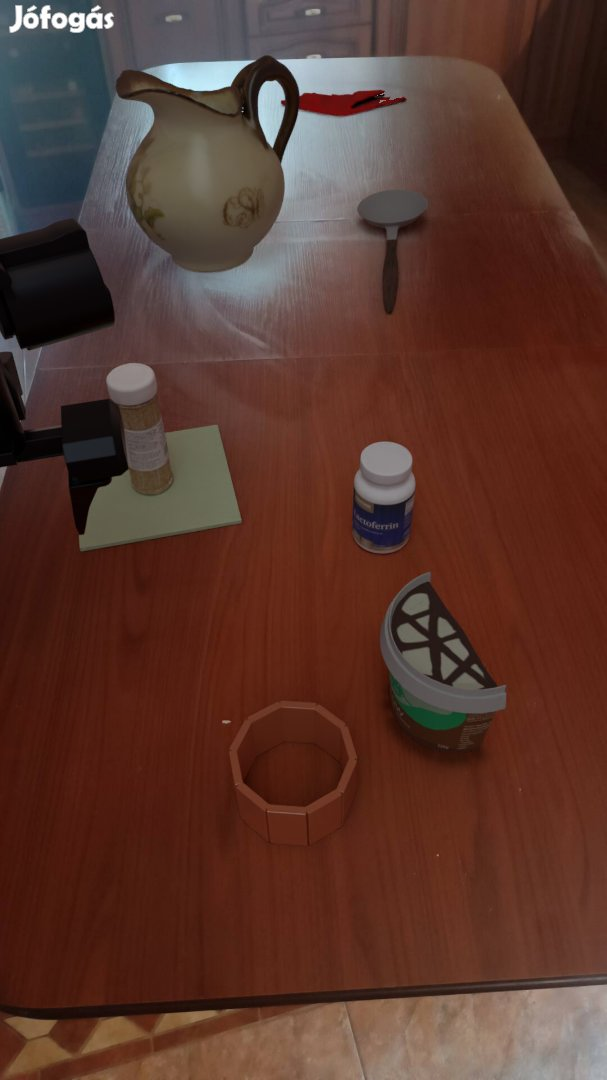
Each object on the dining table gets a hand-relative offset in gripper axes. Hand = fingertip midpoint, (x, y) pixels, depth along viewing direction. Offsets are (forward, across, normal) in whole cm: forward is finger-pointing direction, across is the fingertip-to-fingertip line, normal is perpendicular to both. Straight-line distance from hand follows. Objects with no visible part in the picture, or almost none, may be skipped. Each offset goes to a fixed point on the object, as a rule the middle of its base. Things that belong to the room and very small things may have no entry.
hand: (20, 541), depth 61 cm
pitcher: (+13, -24, -70) cm, 75 cm away
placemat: (+13, -10, -19) cm, 25 cm away
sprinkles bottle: (+13, -10, -19) cm, 25 cm away
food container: (+13, -28, +14) cm, 34 cm away
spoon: (+13, -49, -61) cm, 79 cm away
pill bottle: (+13, -31, -6) cm, 34 cm away
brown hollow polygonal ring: (+13, -17, +18) cm, 28 cm away
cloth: (+13, -59, -127) cm, 141 cm away
